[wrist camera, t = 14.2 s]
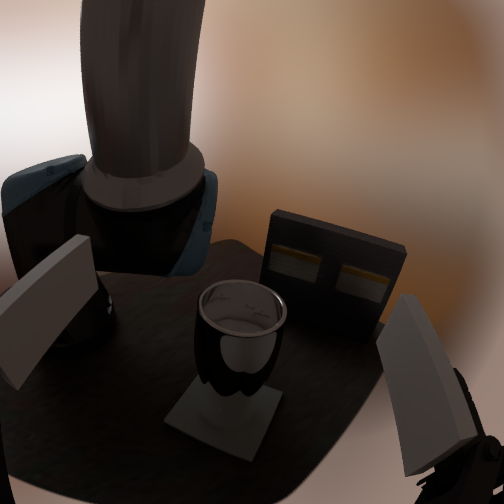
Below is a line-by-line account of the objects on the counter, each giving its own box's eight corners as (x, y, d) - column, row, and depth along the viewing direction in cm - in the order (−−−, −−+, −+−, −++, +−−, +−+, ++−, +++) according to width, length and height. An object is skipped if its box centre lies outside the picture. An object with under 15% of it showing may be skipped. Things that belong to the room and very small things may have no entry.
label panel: (253, 310, 44) (269, 215, 36) (265, 291, 49) (281, 205, 41) (366, 346, 38) (407, 255, 31) (367, 323, 44) (401, 239, 36)
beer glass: (205, 377, 30) (211, 270, 23) (263, 391, 29) (292, 288, 22) (186, 424, 24) (179, 322, 17) (252, 441, 23) (285, 347, 16)
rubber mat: (163, 422, 24) (163, 420, 24) (207, 364, 32) (207, 362, 32) (251, 462, 21) (252, 461, 21) (282, 394, 30) (283, 391, 29)
